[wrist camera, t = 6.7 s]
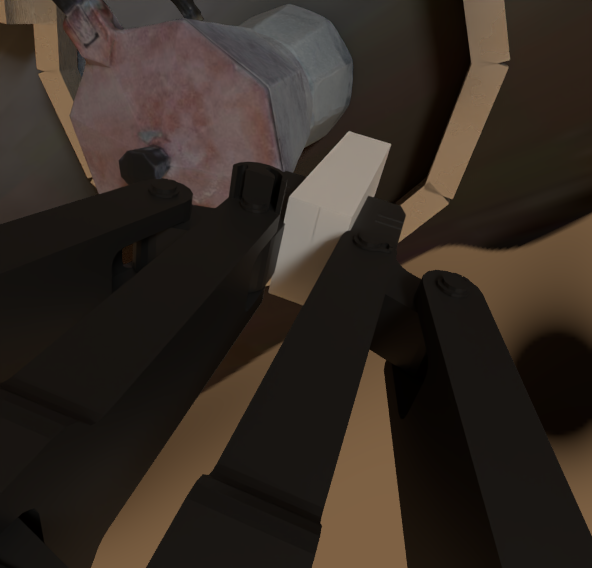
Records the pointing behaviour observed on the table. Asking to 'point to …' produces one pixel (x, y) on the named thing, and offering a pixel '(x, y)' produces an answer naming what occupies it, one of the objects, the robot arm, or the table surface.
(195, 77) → the moka pot
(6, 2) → the indicator ring
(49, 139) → the table surface
